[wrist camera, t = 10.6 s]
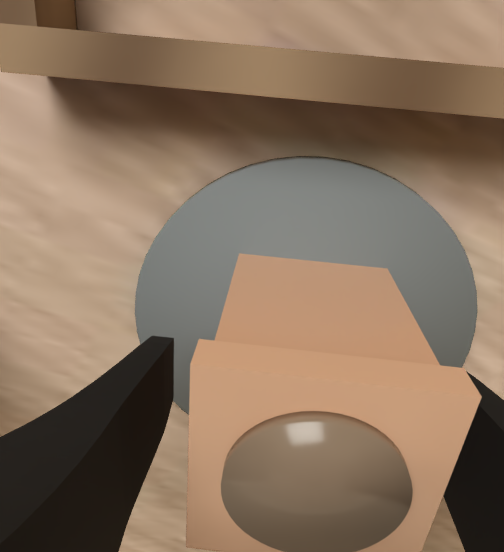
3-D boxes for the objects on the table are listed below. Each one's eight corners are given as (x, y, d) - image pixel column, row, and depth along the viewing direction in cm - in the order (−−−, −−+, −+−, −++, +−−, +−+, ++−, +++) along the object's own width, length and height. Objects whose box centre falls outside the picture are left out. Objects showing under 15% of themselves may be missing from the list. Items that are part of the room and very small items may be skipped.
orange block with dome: (223, 377, 15) (183, 561, 9) (231, 244, 13) (186, 374, 7) (365, 393, 15) (415, 591, 9) (397, 261, 13) (490, 409, 7)
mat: (144, 424, 17) (139, 436, 16) (135, 138, 12) (128, 141, 12) (421, 458, 17) (426, 471, 16) (519, 175, 12) (530, 180, 11)
